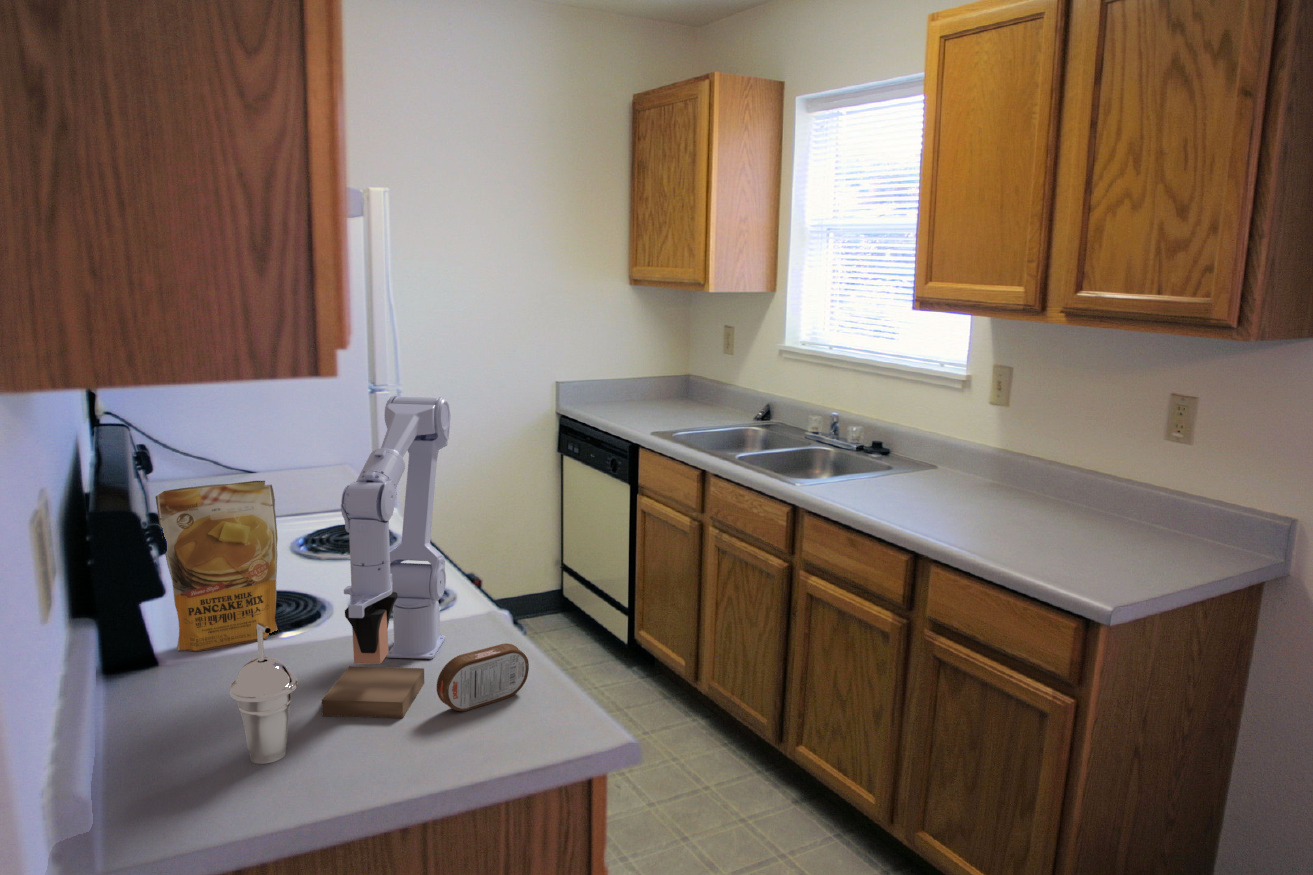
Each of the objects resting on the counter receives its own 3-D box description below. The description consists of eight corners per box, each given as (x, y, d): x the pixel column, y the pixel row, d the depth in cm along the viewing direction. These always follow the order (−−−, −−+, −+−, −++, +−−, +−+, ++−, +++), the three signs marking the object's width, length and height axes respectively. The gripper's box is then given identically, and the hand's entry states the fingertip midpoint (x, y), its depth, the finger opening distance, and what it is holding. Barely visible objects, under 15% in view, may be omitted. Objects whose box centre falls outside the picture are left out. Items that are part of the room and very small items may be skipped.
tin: (521, 685, 152) (521, 636, 150) (532, 692, 150) (532, 642, 148) (435, 712, 142) (434, 659, 141) (445, 720, 140) (444, 666, 138)
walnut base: (350, 680, 152) (349, 666, 152) (424, 682, 152) (424, 668, 152) (322, 715, 141) (321, 699, 140) (402, 717, 140) (402, 702, 140)
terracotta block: (362, 652, 147) (360, 609, 146) (388, 652, 147) (386, 609, 146) (354, 663, 143) (351, 619, 142) (380, 663, 143) (378, 619, 142)
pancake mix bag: (165, 644, 165) (152, 487, 160) (280, 624, 176) (272, 476, 171) (169, 657, 160) (156, 496, 155) (288, 636, 170) (280, 483, 165)
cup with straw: (307, 738, 134) (301, 603, 130) (291, 772, 125) (283, 628, 121) (244, 741, 133) (236, 604, 129) (223, 775, 124) (213, 629, 120)
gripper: (359, 545, 150) (363, 627, 152) (326, 575, 135) (330, 664, 138) (404, 546, 149) (406, 628, 152) (375, 576, 135) (378, 666, 138)
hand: (373, 646), depth 145 cm, fingers closed on terracotta block, 4 cm apart
